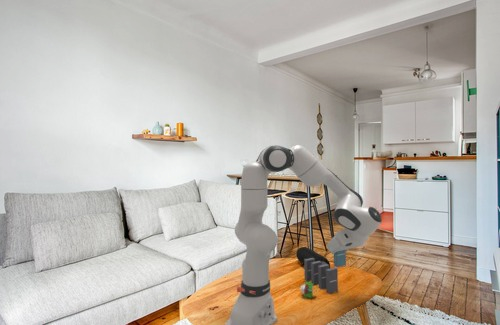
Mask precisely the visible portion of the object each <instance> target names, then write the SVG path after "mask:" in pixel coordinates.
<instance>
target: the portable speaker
mask: <svg viewBox="0 0 500 325" xmlns="http://www.w3.org/2000/svg"><path fill="white" fill-rule="evenodd" d="M309 258H314V259H315V262H316V261H321V262H322V265H324V264H328V265H329V269H330V268H331V263H330V261H329V260H328V259H327V258H326V257H325V256H323V255H321V254H320V253H318V252H316V251H314V250H313V249H311V248H309V247H307V246H302V247H300V248H298V249H297V251H296V259H297V260H298V261H299V262H300V263H302V264H303V265H304V260H305V259H309Z"/></svg>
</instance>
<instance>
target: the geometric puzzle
mask: <svg viewBox="0 0 500 325" xmlns="http://www.w3.org/2000/svg"><path fill="white" fill-rule="evenodd" d="M304 282H305V283H304V284H301V286H300V287H299V289H300V291H301V293H303V295H302V296H303V297H305V298H309V299H312V298H313V297H314V295H315V294H314V293H317V289H316V288H315V287H314V285H313V283H311V281H306V280H304ZM313 294H314V295H313Z"/></svg>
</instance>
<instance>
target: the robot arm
mask: <svg viewBox="0 0 500 325" xmlns="http://www.w3.org/2000/svg"><path fill="white" fill-rule="evenodd" d="M286 169H289V170H291V171H292V172H293V173H294V175H295V176H296V177H297V178H298V179H299V181H301V182H302V184H304V185H305V186H307V187H312V188H313V187H318V186H320V185H324V186H326V187H327V188H329V189H330V191H332V192H333V193H334V194H335V195H336V196H337V200H338V202H337V205H336V207H335V209H334V212H333V219H334V221H335V222H336V223H337V224H338V225H339V226H341V227H343V229H341V230H339V231H336V232H335V233H334V234H335V235H334V236H333V237H332V238H331V239H330V240H329V241H328V242H327V244H326V247H327V249H328V252H329V253H331V254H332V255H334V254H336V253H337V251H342V250H346V252H348V251H349V250H350V249H351V250H352V249H353V248H358V247H361V246H363V245H364V244H365V243H366V242H367V240H368V238H369V236H371V235H372V234H374V233H375V232H376V231H377V230H378V229H379V227H380V226H381V224H382V220H383V219H382V215H381V213H380V211H378V210H377V209H376V208H375V207H372V206H367V207H363V204H364V199H363V197H362V195H360V193H359V192H357V191H355V190H354V189H352V188H350V187H349V186H348V185H347V184H345V183H344V181H342V180H341V178H339V177H338V175H336V174H335V173H334V172H333V171H332V170H330V169H329V168H327V167H325V166H324V165H322V163H321V162H320V161H319V160H318V158H316V157H315V156H314V155H313V154H312V153H311V152H310V151H309V150H308V149H307V148H305V146H303V145H300V144H297V145H293V146H291V147H290V148H286V147H284V146H281V145H276V144H275V145H269V146H266V147H265V148H264V149H263V150H262V151H261V152H260V153H259V156H258V157H257V159H256V161H250V162H247V163H246V164H245V165H244V166H243V169H242V172H241V173H242V174H241V180H240V182H241V184H240V196H241V197H240V211H239V216H238V221H237V223H236V225H235V226H234V227H235V228H234V234H235V236H236V239H238V241H239V242H241V244H243V245H245V247H246V254H245V258H244V259H243V261H242V263H241V270H242V272H241V273H242V275H241V276H242V280H241V284H240V286H239V285H238V286H237V287H236V292H238V293H239V294H238V296H237V299H236V300H235V302H234V304H233V306H232V309H231V311H230V316H229V318H228V319H227V321H226V322H225V323H224V325H273V324H275V323H276V322H277V321H278V317H277V315H276V314H275V304H274V298H273V296H272V294H271V292H270V291H271V280H270V279H269V278H270V276H269V274H270V268H269V265H270V258H271V254H272V252H273V251H274V250H275V248H276V247H277V244H278V236H277V233H276V232H275V230H273V228H271V226H269V225H267V224H265V223H263V217H264V213H265V211H266V210H267V208H268V202H269V201H268V178H269V175H270V174H271V173H280V172H283V171H285V170H286Z"/></svg>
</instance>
